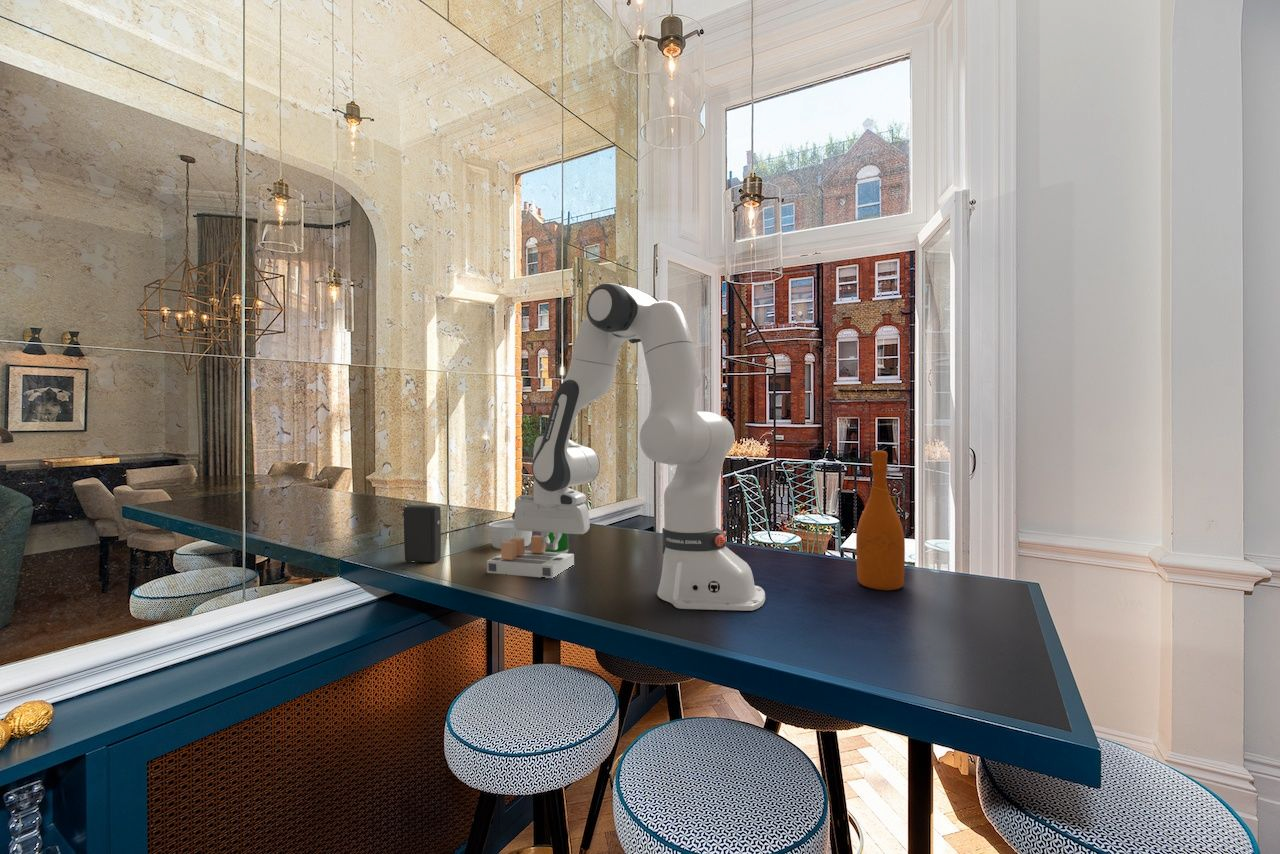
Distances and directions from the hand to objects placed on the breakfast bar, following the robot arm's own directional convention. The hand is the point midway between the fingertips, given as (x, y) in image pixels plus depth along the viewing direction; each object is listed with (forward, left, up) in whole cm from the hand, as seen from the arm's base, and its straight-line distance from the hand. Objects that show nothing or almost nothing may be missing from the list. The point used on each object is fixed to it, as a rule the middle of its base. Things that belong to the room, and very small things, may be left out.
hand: (551, 549), depth 140 cm
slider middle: (+7, +4, -1) cm, 9 cm away
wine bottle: (-79, -5, -5) cm, 79 cm away
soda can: (+4, -11, -5) cm, 13 cm away
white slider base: (+3, +4, -4) cm, 7 cm away
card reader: (+35, +5, -5) cm, 36 cm away
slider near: (+7, +8, -1) cm, 11 cm away
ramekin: (+22, -18, -5) cm, 29 cm away
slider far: (+4, 0, -1) cm, 4 cm away
